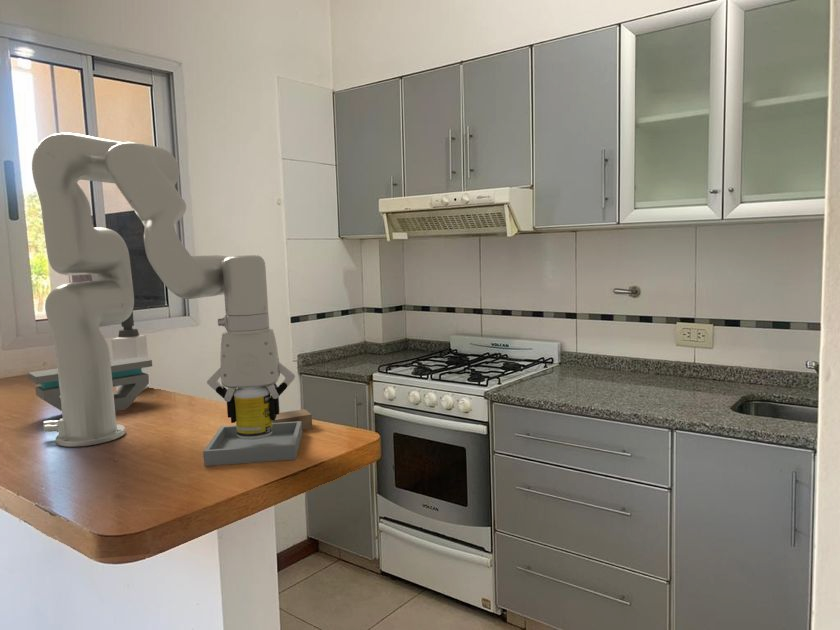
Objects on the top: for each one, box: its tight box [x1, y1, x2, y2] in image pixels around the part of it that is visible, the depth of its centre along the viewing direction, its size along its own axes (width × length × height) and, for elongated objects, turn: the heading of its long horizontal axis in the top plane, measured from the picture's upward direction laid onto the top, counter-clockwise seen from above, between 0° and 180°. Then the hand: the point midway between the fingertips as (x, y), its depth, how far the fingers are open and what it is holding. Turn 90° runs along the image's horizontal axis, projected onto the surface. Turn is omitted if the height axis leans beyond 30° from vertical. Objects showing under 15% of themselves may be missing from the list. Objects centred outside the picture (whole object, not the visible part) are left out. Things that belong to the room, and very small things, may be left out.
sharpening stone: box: [27, 357, 153, 412], centre depth 153 cm, size 25×8×11 cm, turn 132°
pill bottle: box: [234, 386, 273, 440], centre depth 119 cm, size 6×6×12 cm
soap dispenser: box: [111, 310, 151, 392], centre depth 174 cm, size 6×9×22 cm
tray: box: [202, 421, 303, 467], centre depth 120 cm, size 16×16×3 cm
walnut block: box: [272, 408, 313, 431], centre depth 132 cm, size 8×5×3 cm, turn 116°
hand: (254, 418), depth 119 cm, fingers closed on pill bottle, 6 cm apart
